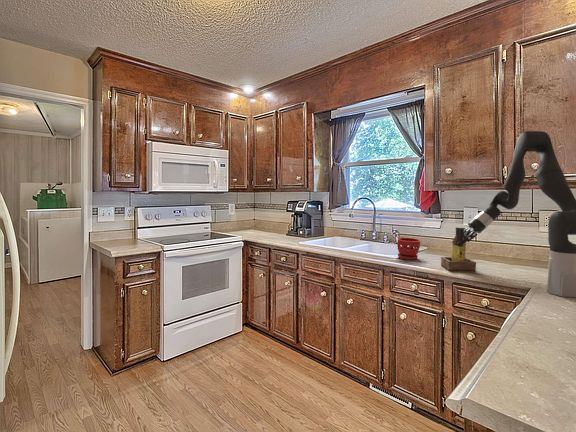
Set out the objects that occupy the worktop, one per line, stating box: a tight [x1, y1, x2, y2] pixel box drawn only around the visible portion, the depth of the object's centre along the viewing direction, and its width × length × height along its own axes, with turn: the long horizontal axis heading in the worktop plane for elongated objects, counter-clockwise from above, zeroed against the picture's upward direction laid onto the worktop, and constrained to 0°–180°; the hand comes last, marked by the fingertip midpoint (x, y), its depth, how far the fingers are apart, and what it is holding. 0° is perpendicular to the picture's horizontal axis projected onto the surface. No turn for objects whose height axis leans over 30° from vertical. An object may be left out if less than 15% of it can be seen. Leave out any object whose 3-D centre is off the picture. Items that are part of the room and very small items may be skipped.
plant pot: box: [396, 237, 421, 261], centre depth 198 cm, size 13×13×12 cm
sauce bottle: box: [451, 226, 467, 262], centre depth 171 cm, size 6×6×20 cm
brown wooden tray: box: [440, 256, 477, 273], centre depth 172 cm, size 12×13×5 cm
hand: (455, 244), depth 171 cm, fingers closed on sauce bottle, 6 cm apart
